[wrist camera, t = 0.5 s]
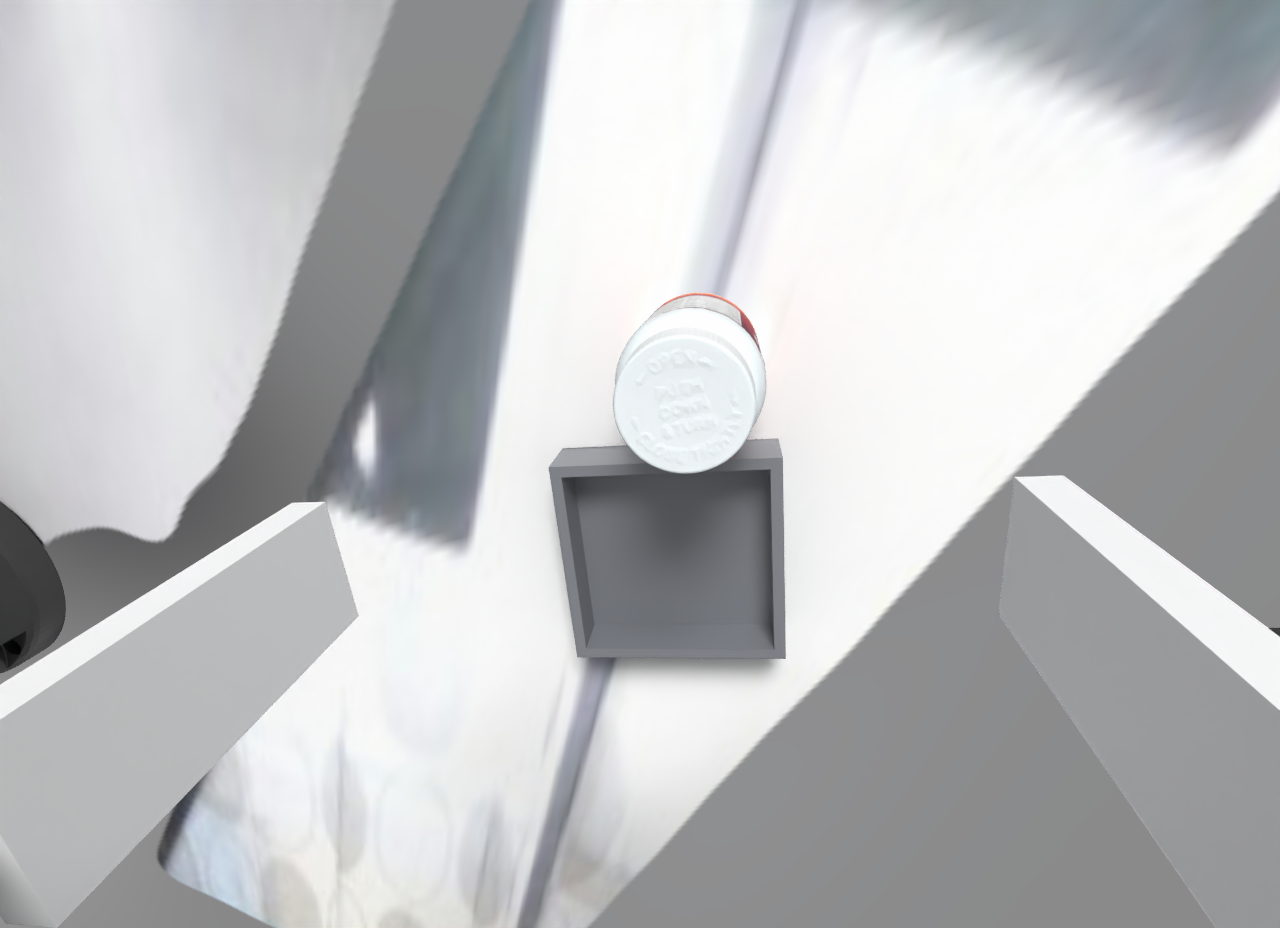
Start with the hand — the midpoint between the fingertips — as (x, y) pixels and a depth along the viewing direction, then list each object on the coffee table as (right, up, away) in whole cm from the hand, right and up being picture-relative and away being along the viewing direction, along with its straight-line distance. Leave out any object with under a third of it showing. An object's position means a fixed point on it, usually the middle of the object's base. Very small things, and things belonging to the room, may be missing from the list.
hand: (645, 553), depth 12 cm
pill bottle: (+3, +8, +21) cm, 22 cm away
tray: (+2, -3, +25) cm, 25 cm away
